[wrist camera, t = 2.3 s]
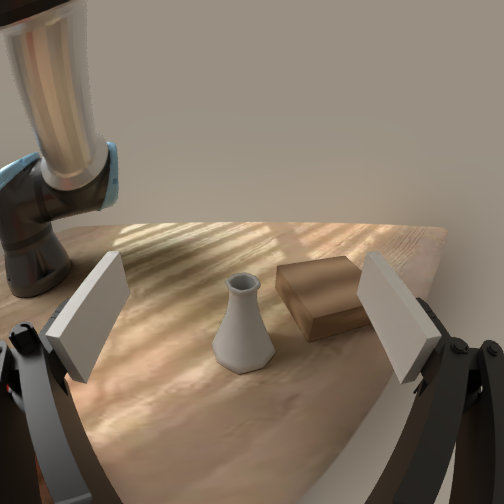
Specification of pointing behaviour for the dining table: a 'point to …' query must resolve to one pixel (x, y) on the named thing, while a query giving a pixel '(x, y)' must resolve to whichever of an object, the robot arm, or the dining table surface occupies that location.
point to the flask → (242, 328)
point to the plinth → (322, 296)
